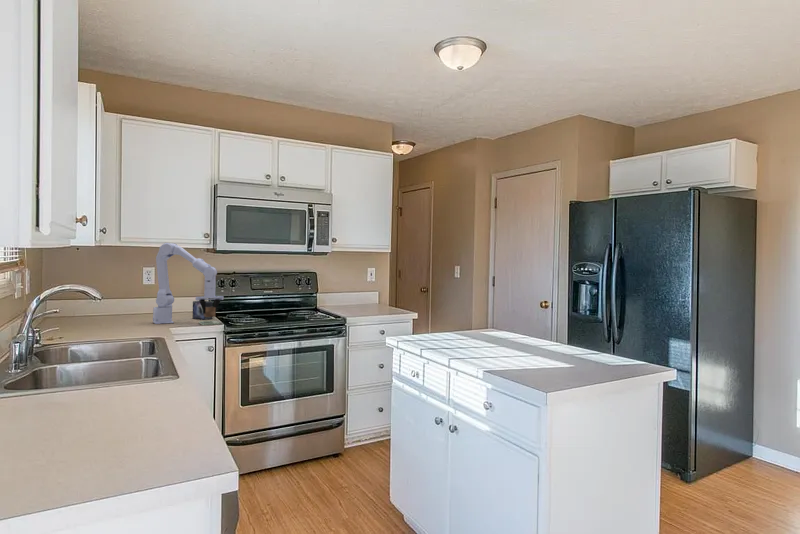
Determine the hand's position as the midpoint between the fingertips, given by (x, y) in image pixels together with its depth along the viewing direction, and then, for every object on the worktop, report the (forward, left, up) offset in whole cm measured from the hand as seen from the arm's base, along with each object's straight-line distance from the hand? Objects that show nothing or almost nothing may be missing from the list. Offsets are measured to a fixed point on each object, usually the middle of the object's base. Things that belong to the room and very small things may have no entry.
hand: (209, 313), depth 270 cm
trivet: (0, 0, -6) cm, 6 cm away
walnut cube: (0, 0, -2) cm, 2 cm away
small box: (+1, +23, -6) cm, 23 cm away
